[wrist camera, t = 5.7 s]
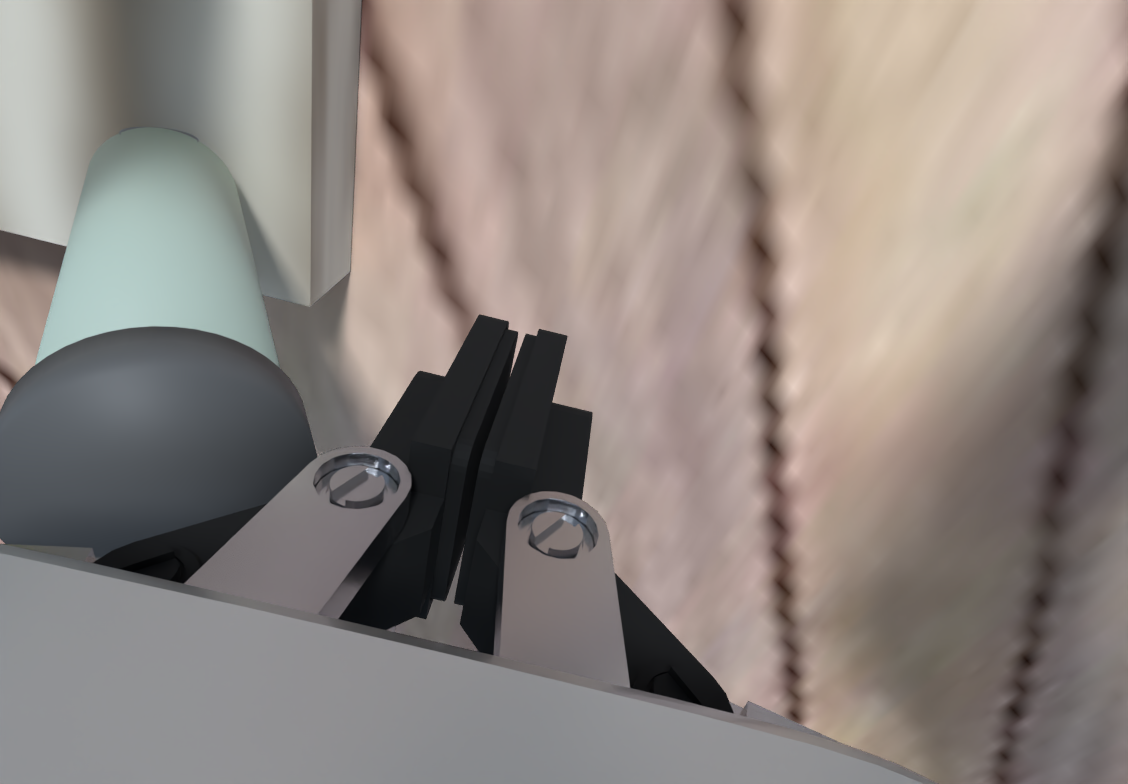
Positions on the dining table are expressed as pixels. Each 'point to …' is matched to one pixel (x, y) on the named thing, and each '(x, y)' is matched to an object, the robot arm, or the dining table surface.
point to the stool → (191, 114)
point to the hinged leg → (150, 363)
